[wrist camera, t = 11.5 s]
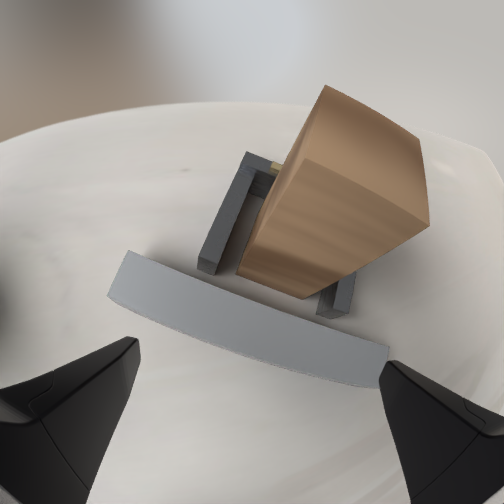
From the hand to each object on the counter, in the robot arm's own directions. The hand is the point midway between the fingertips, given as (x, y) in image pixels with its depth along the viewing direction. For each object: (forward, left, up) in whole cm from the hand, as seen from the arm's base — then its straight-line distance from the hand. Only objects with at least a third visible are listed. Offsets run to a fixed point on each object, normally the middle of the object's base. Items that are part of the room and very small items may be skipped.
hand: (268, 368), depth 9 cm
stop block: (+8, +1, -9) cm, 12 cm away
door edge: (+2, 0, -9) cm, 9 cm away
